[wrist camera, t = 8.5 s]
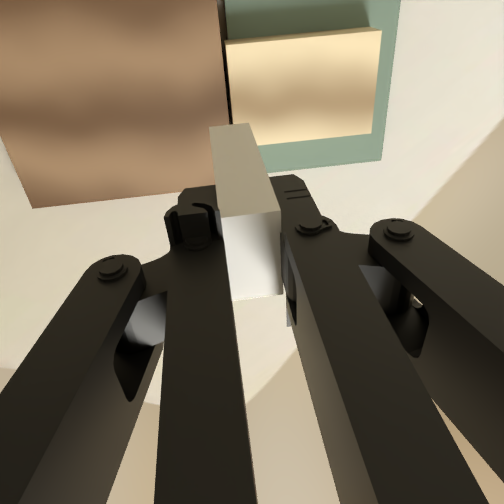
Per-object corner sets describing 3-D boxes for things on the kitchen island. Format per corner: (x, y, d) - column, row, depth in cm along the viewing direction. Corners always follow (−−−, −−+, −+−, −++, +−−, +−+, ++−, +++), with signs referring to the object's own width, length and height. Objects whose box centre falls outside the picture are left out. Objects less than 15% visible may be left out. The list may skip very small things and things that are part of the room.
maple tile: (223, 40, 24) (225, 45, 23) (369, 26, 25) (381, 30, 23) (233, 137, 28) (235, 148, 26) (361, 123, 28) (371, 133, 26)
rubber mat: (221, -23, 23) (222, -23, 22) (401, -38, 23) (405, -38, 23) (240, 173, 30) (241, 175, 29) (378, 157, 30) (381, 160, 30)
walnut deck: (-40, 0, 22) (-59, 3, 21) (213, -22, 23) (214, -21, 21) (41, 195, 29) (32, 208, 27) (233, 173, 30) (235, 185, 28)
